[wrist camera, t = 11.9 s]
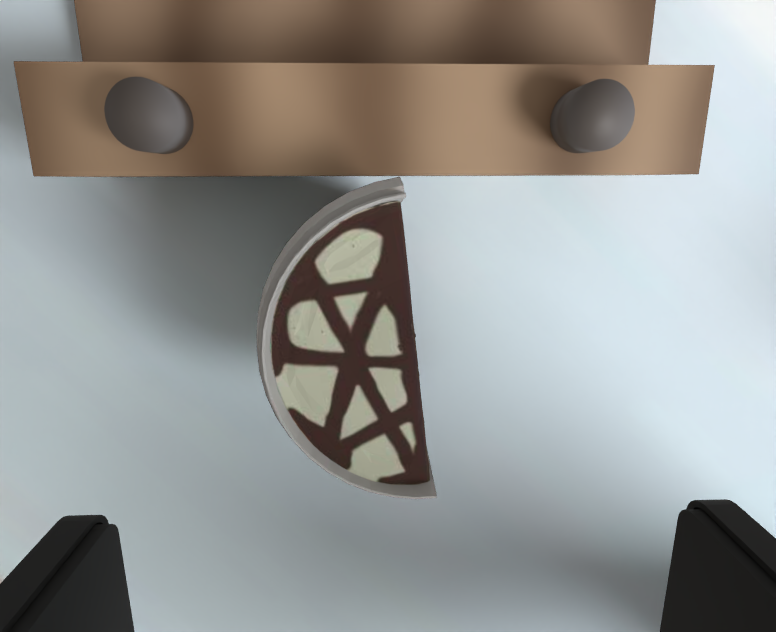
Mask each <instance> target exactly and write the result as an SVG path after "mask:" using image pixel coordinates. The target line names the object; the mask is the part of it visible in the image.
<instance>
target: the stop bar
mask: <svg viewBox="0 0 776 632" xmlns="http://www.w3.org/2000/svg"><path fill="white" fill-rule="evenodd" d="M655 2H656V0H74V4H75V11H76V18H77V25H78V32H79V39H80V45H81V52H82V59H83V62H31V61H14V67H15V73H16V78H17V84H18V90H19V96H20V101H21V107H22V113H23V118H24V124H25V130H26V135H27V141H28V147H29V152H30V158H31V164H32V170H33V175H34V176H63V177H224V176H524V175H671V174H699V168H700V161H701V154H702V148H703V141H704V134H705V127H706V121H707V114H708V107H709V100H710V93H711V87H712V80H713V73H714V66H715V65H648V62H649V54H650V45H651V36H652V28H653V19H654V11H655Z"/></svg>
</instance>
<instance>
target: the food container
mask: <svg viewBox="0 0 776 632" xmlns="http://www.w3.org/2000/svg"><path fill="white" fill-rule="evenodd" d="M405 197H406V194H405V193H404V186H403V183H402V181H401V178H400V177H397V178H392V179H387V180H383V181H378V182H374V183H371V184H369V185H366V186H363V187H361V188H358V189H355V190H353V191H350V192H348V193H346V194H345V195H343V196H341V197H339V198H338V199H336V200H334V201H332V202H331V203H329V204H327V205H325V206H324V207H323V208H322V209H321V210H319V211H318V212H317V213H316V214H314V215H313V216H312V217H311V218H309V219H308V220H307V221H306V222H305V223H304V224H303V225H302V226H301V227H300V228H299V229H298V231H297V232H296V233H295V234H294V235H293V236H292V237H291V238H290V240H289V241H288V242H287V243H286V245H285V246H284V248H283V250H282V251H281V253H280V254H279V256H278V258H277V259H276V261H275V262H274V264H273V266H272V269H271V271H270V274H269V276H268V278H267V281H266V283H265V286H264V288H263V292H262V297H261V301H260V306H259V310H258V320H257V353H258V362H259V372H260V375H261V379H262V383H263V386H264V390H265V393H266V396H267V398H268V401H269V403H270V405H271V407H272V409H273V411H274V413H275V416H276V417H277V419H278V420H279V422H280V423H281V425H282V426H283V428H284V429H285V431H286V432H287V434H288V435H289V436H290V438H291V439H292V440H293V441H294V442H295V443H296V444H297V446H298V447H299V448H300V449H301V450H302V451H303V452H304V453H305V454H306V455H307V456H308V457H309V458H310V459H311V460H312V461H314V462H315V463H316V464H318V465H319V466H320V467H321V468H323V469H324V470H325V471H327V472H328V473H330V474H331V475H333V476H335V477H337V478H339V479H340V480H342V481H344V482H346V483H347V484H350V485H352V486H355V487H358V488H360V489H363V490H366V491H368V492H372V493H376V494H381V495H385V496H389V497H397V498H409V499H426V498H437V495H436V490H435V485H434V480H433V476H432V471H431V466H430V461H429V456H428V451H427V447H426V439H425V428H424V418H423V409H422V401H421V392H420V382H419V371H418V361H417V351H416V343H415V337H416V335H415V333H414V325H413V316H412V305H411V294H410V284H409V274H408V264H407V255H406V245H405V236H404V228H403V220H402V211H401V202H402V201H403V199H404V198H405Z"/></svg>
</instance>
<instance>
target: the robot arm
mask: <svg viewBox="0 0 776 632" xmlns="http://www.w3.org/2000/svg"><path fill="white" fill-rule="evenodd" d="M0 632H134V626H133V620H132V614H131V607H130V601H129V595H128V588H127V582H126V576H125V569H124V563H123V557H122V550H121V544H120V538H119V532H118V528H117V527H116V525H114V524H109V523H108V520H107V519H106V517H105V516H103V515H78V516H65V517H63V518H61V519H60V520H59V521H58V522H57V523H56V524H55V525H54V526H53V527H52V528H51V529H50V530H49V532H48V533H47V534H46V535H45V536H44V537H43V538H42V539H41V540H40V541H39V542H38V544H37V545H36V546H35V547H34V548H33V549H32V550H31V551H30V552H29V553H28V554H27V555H26V557H25V558H24V559H23V560H22V561H21V562H20V563H19V564H18V565H17V566H16V567H15V569H14V570H13V571H12V572H11V573H10V574H9V575H8V576H7V577H6V578H5V579H4V580H3V582H2V583H1V584H0ZM660 632H776V538H774V537H773V536H772V535H771V534H770V533H769V532H768V531H766V530H765V529H764V528H763V527H762V526H761V525H760V524H758V523H757V522H756V521H755V520H754V519H753V518H752V517H750V516H749V515H748V514H747V513H746V512H745V511H744V510H742V509H741V508H740V507H739V506H738V505H737V504H735V503H734V502H732V501H730V500H694V501H691V502H690V503H689V504H688V506H687V509H686V510H682V511H681V512H680V513H679V516H678V521H677V527H676V534H675V540H674V546H673V552H672V559H671V565H670V571H669V577H668V584H667V590H666V596H665V602H664V609H663V615H662V621H661V627H660Z"/></svg>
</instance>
